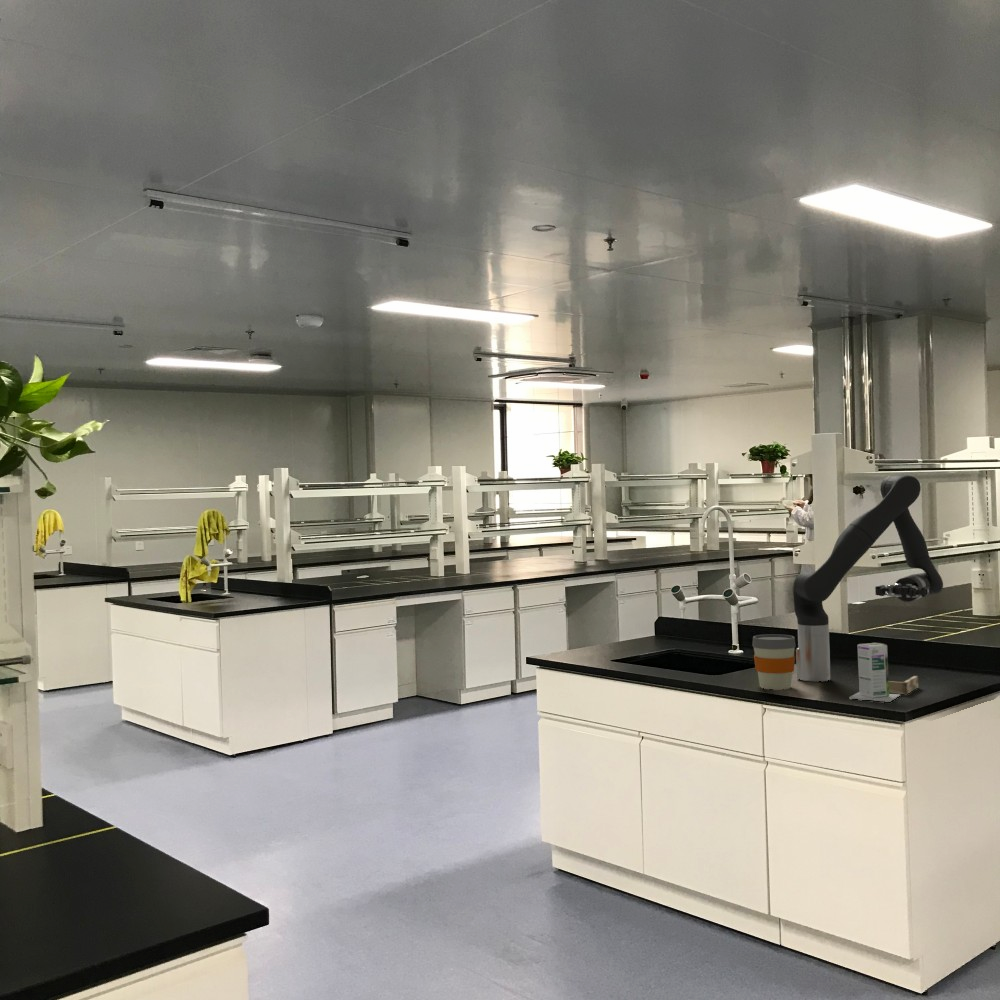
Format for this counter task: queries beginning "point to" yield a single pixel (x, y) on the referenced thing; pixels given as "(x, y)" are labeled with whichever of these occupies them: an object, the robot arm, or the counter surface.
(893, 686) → the maple sleeve
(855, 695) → the grey mat
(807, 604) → the robot arm
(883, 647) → the syrup box
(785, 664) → the reusable coffee cup
